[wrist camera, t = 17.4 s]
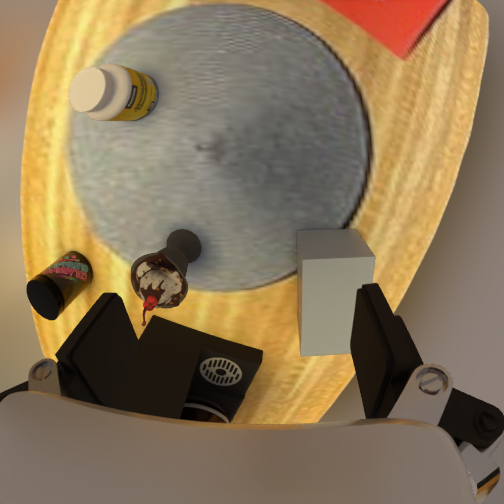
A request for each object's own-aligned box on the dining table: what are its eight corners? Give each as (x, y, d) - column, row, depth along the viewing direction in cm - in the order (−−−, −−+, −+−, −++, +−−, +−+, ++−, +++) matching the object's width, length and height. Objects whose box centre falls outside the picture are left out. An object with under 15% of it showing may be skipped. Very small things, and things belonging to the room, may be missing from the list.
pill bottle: (151, 125, 33) (103, 126, 22) (110, 116, 33) (56, 118, 22) (166, 77, 30) (121, 59, 20) (123, 71, 30) (71, 57, 19)
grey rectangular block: (296, 230, 37) (302, 259, 29) (355, 228, 36) (375, 256, 28) (297, 315, 42) (300, 356, 34) (348, 313, 42) (360, 352, 33)
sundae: (179, 276, 41) (139, 343, 27) (152, 237, 39) (97, 293, 25) (217, 256, 39) (187, 323, 26) (189, 214, 37) (142, 264, 24)
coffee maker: (224, 430, 57) (199, 568, 25) (141, 404, 56) (90, 534, 24) (266, 351, 46) (249, 572, 14) (151, 314, 44) (48, 510, 12)
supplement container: (100, 279, 43) (66, 314, 33) (77, 291, 44) (44, 324, 35) (79, 243, 41) (40, 273, 31) (57, 258, 42) (20, 287, 33)
